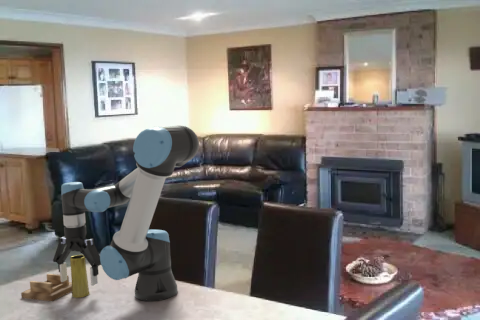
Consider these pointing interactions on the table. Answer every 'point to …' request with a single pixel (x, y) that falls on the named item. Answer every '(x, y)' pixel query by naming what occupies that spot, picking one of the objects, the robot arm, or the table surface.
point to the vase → (79, 276)
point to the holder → (48, 288)
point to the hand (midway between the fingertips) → (79, 282)
